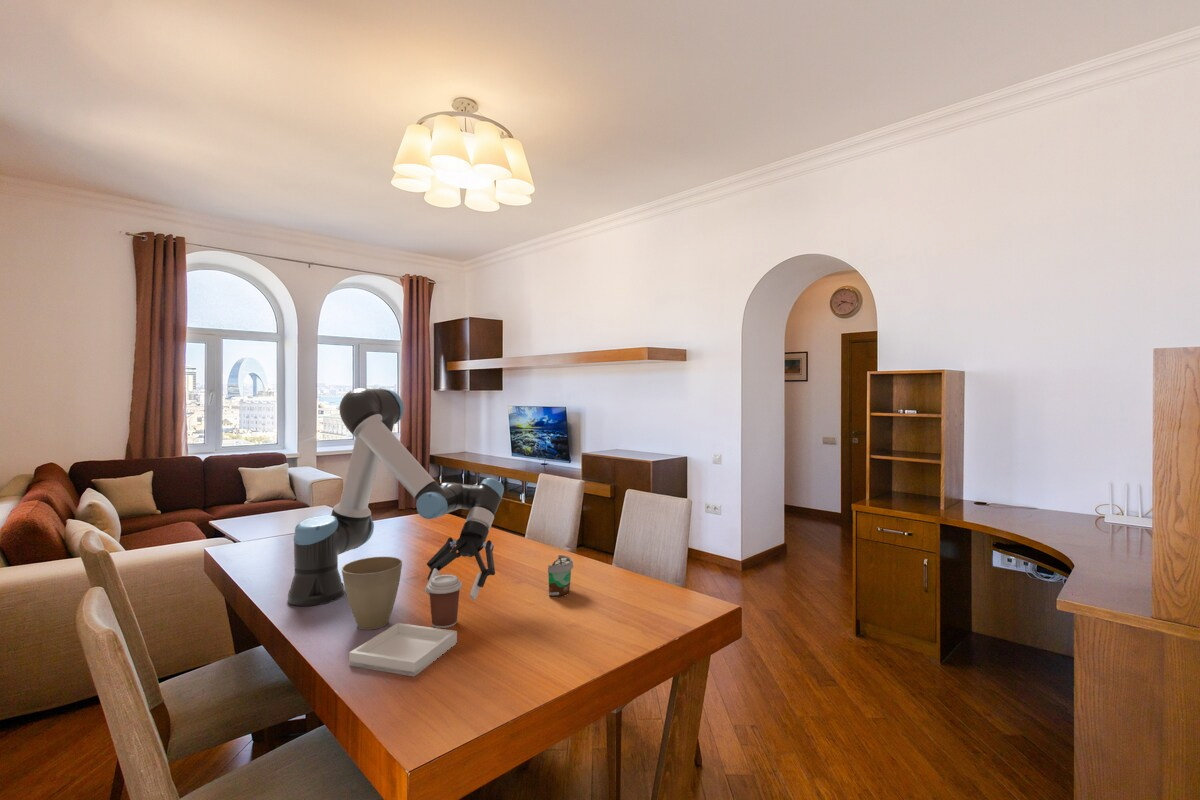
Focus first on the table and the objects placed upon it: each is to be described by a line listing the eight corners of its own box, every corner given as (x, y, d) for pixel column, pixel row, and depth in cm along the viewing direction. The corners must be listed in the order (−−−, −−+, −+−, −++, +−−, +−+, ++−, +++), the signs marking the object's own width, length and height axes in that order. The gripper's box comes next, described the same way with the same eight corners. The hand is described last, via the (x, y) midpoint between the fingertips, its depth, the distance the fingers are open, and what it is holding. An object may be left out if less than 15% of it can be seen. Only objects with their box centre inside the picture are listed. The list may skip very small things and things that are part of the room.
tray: (349, 665, 124) (349, 652, 124) (397, 634, 141) (397, 622, 141) (414, 676, 120) (414, 662, 120) (456, 643, 136) (456, 631, 136)
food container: (567, 600, 164) (567, 567, 164) (547, 599, 165) (547, 565, 165) (577, 586, 176) (577, 555, 176) (559, 585, 178) (558, 554, 178)
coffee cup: (462, 628, 145) (462, 582, 145) (426, 632, 142) (426, 585, 142) (461, 615, 153) (461, 572, 153) (426, 619, 151) (426, 575, 151)
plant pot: (358, 613, 155) (358, 556, 155) (410, 613, 154) (410, 556, 154) (330, 636, 140) (330, 573, 140) (388, 637, 139) (388, 573, 139)
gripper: (520, 536, 162) (496, 606, 147) (444, 530, 169) (415, 597, 154) (512, 521, 157) (487, 593, 142) (434, 517, 164) (403, 584, 149)
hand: (449, 595), depth 148 cm, fingers open, 13 cm apart
